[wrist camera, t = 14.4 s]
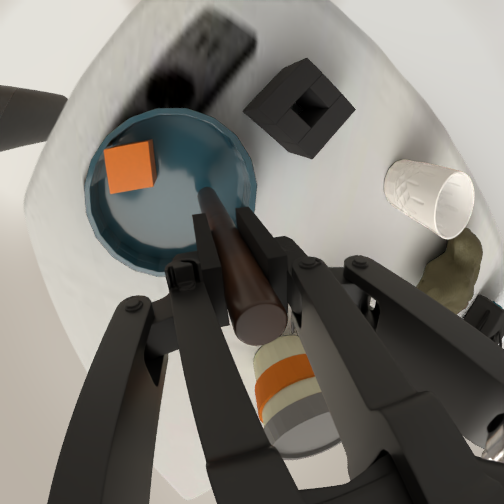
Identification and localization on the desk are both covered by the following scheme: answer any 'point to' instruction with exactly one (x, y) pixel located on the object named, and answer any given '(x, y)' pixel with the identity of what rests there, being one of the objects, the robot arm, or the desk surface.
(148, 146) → the block
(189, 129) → the bowl
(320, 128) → the holder
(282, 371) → the reusable coffee cup
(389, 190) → the white cup
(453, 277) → the dinosaur head
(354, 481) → the robot arm
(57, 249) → the desk surface
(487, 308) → the virtual reality headset
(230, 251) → the stick
